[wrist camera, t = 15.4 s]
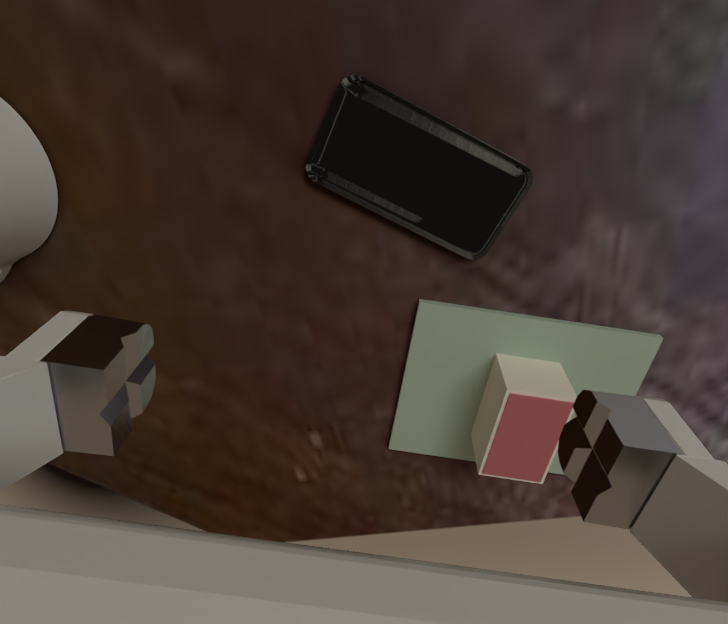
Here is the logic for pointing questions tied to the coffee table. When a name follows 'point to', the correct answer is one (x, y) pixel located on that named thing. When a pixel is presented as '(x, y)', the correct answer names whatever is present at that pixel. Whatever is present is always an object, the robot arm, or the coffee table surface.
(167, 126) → the coffee table surface
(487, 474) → the card case
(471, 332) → the mat
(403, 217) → the phone
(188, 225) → the coffee table surface
